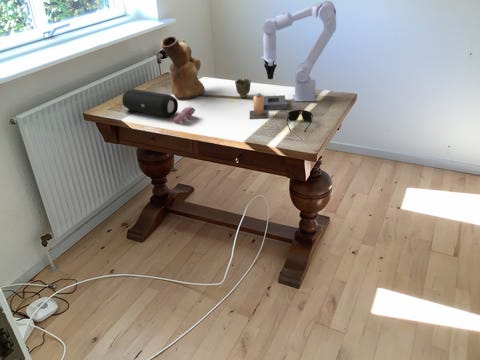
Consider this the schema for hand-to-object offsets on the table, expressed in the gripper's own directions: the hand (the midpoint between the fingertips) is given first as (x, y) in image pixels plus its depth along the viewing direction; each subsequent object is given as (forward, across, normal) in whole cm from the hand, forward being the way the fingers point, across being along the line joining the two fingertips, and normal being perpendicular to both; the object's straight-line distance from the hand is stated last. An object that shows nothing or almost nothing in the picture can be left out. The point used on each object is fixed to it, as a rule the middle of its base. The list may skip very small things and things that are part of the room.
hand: (270, 76), depth 206 cm
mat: (+10, +20, -6) cm, 24 cm away
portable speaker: (+11, +14, -55) cm, 58 cm away
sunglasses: (+11, +33, +11) cm, 36 cm away
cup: (+11, -2, -13) cm, 17 cm away
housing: (+10, +10, +1) cm, 14 cm away
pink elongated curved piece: (+11, +23, -38) cm, 46 cm away
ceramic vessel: (+11, -6, -42) cm, 44 cm away
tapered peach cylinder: (+10, +21, -6) cm, 24 cm away
